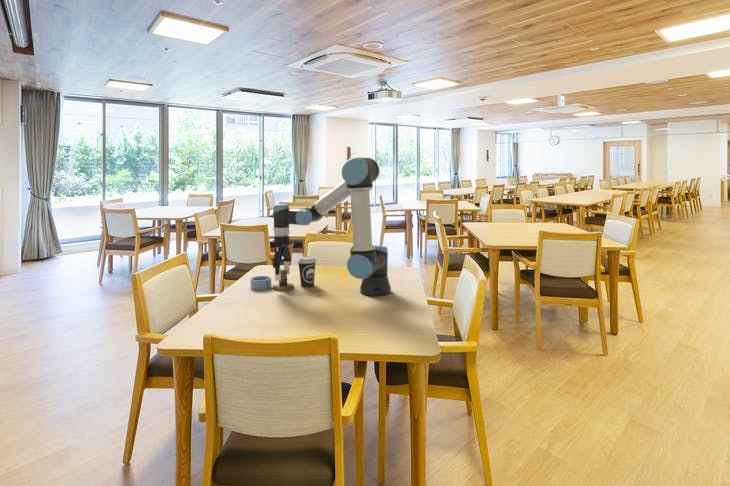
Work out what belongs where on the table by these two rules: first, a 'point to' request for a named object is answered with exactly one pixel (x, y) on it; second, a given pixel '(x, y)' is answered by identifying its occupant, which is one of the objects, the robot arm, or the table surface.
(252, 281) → the bowl
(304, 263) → the coffee cup
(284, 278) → the lid
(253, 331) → the table surface
